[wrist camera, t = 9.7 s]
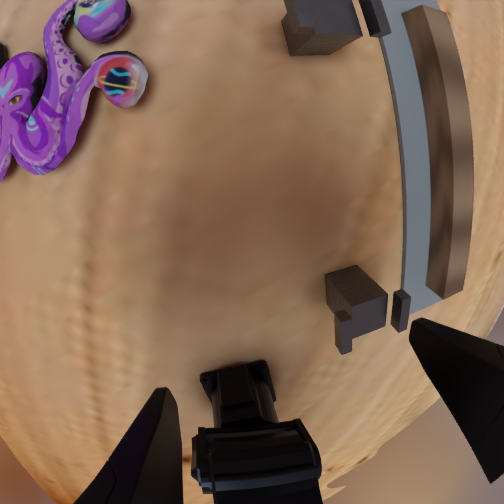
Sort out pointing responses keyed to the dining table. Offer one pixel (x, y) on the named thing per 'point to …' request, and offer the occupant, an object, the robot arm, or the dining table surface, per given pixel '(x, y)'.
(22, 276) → the dining table surface
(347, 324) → the dark brown blocks
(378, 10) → the grey block
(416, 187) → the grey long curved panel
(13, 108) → the decorative sculpture
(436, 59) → the rail
